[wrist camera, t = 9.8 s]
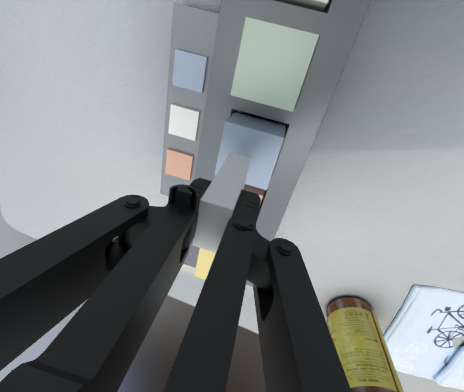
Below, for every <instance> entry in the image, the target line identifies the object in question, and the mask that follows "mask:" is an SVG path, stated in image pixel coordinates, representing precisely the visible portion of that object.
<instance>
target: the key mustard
mask: <svg viewBox="0 0 464 392" xmlns="http://www.w3.org/2000/svg"><path fill="white" fill-rule="evenodd" d="M215 254H216V253H215V252H212V251H208V250H205V249H202V248H200V249H199V254H198V259H197V264H196V269H195V274H194V276H196V277H199V278H202V279H205V280H206V278H207V275H208V273H209V270H210V267H211V265H212V262H213V259H214V257H215Z"/></svg>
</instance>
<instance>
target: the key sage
mask: <svg viewBox="0 0 464 392" xmlns="http://www.w3.org/2000/svg"><path fill="white" fill-rule="evenodd" d="M318 37H319V35H318V34H314V33H310V32H305V31H301V30H297V29H293V28H289V27H285V26H281V25H277V24H273V23H269V22H265V21H261V20H257V19H253V18H249V17H246V19H245V24H244V29H243V34H242V39H241V44H240V49H239V54H238V59H237V64H236V69H235V74H234V79H233V84H232V89H231V94H230V95H232V96H236V97H239V98H243V99H247V100H250V101H254V102H258V103H261V104H265V105H269V106H273V107H276V108H280V109H284V110H287V111H291V112H293V111H294V108H295V105H296V102H297V99H298V96H299V93H300V90H301V87H302V85H303V82H304V79H305V76H306V73H307V70H308V67H309V64H310V61H311V58H312V55H313V52H314V49H315V46H316V43H317V40H318Z"/></svg>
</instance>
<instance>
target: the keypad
mask: <svg viewBox="0 0 464 392" xmlns="http://www.w3.org/2000/svg"><path fill="white" fill-rule="evenodd" d="M370 1H371V0H329V3H328V6H327V9H326V12H325V13H324V12H320V11H316V10H312V9H307V8H303V7H299V6H295V5H291V4H286V3H282V2H278V1H274V0H221V3H220V10H219V14H218V13H214V12H210V11H206V10H202V9H198V8H194V7H190V6H186V5H182V4H178V3H174V11H173V25H172V39H171V53H170V67H169V81H168V94H167V108H166V122H165V136H164V150H163V164H162V178H161V191H160V193H161V194H164V195H167V196H169V190H170V187H172V186H174V185H178V184H184V185H189V186H190V184H191V183H192V181H193V180H195V179H198V178H203V179H206V180H209V181H213V179H214V178H215V176H216V175H214V174H215V169H216V164H217V159H218V154H219V149H220V144H221V139H222V134H223V129H224V124H225V121H226V120H227V119H228V118H229V117H230V116H231V115H233V114H234V113H235V112H236V111H237V110H239V111H243V112H246V113H250V114H254V115H257V116H261V117H264V118H268V119H272V120H275V121H279V122H283V123H286V124H288V125H287V128H286V131H285V136H284V141H283V143H282V146H281V149H280V152H279V155H278V158H277V161H276V164H275V167H274V170H273V173H272V176H271V179H270V182H269V185H268V188H267V190H265V193H264V196H263V199H262V202H261V205H260V208H259V212H258V217H257V222H256V229H257V231H258V233H259V234H260V235H261V236H262V237H264V238H265V239H267V240H269V241H272V240H273V239H274V237H275V235H276V232H277V230H278V227H279V225H280V222H281V220H282V218H283V215H284V213H285V210H286V208H287V205H288V203H289V200H290V198H291V195H292V193H293V191H294V188H295V186H296V183H297V181H298V178H299V176H300V173H301V171H302V168H303V166H304V164H305V161H306V159H307V156H308V154H309V151H310V149H311V146H312V144H313V141H314V139H315V137H316V134H317V132H318V129H319V127H320V124H321V122H322V119H323V117H324V114H325V112H326V110H327V107H328V105H329V102H330V100H331V97H332V95H333V92H334V90H335V87H336V85H337V82H338V80H339V78H340V75H341V73H342V70H343V68H344V65H345V63H346V60H347V58H348V55H349V53H350V51H351V48H352V46H353V43H354V41H355V38H356V36H357V33H358V31H359V28H360V26H361V24H362V21H363V19H364V16H365V14H366V11H367V9H368V6H369V4H370ZM246 17H249V18H253V19H257V20H261V21H265V22H269V23H273V24H277V25H281V26H285V27H289V28H293V29H297V30H301V31H305V32H310V33H314V34H318V35H319V37H318V40H317V43H316V46H315V49H314V52H313V55H312V58H311V61H310V64H309V67H308V70H307V73H306V76H305V79H304V82H303V85H302V87H301V90H300V93H299V96H298V99H297V102H296V105H295V108H294V111H293V112H291V111H287V110H284V109H280V108H276V107H273V106H269V105H265V104H261V103H258V102H254V101H250V100H247V99H243V98H239V97H236V96H232V95H230V94H231V89H232V84H233V79H234V74H235V69H236V64H237V59H238V54H239V49H240V44H241V39H242V34H243V29H244V24H245V19H246ZM192 244H193V240H192V242H191V244H190V249H189V253H188V255H187V257H186V259H185V261H184V263H183V264H186V265H189V266H192V267H195V268H196V264H197V259H198V254H199V249H200V248H199V247H196V246H192ZM246 284H247V285H250V286H253V285H254V284H253V283H251V282H249V281H248V280H247V281H246Z"/></svg>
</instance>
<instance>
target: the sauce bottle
mask: <svg viewBox="0 0 464 392" xmlns="http://www.w3.org/2000/svg"><path fill="white" fill-rule="evenodd" d="M327 326H328V329H329V332H330V334H331V337H332V340H333V342H334V345H335V348H336V350H337V353H338V356H339V358H340V361H341V364H342V367H343V369H344V372H345V375H346V377H347V380H348V383H349V385H350V388H351V391H352V392H403V389H402V386H401V383H400V380H399V378H398V375H397V372H396V369H395V367H394V364H393V361H392V358H391V356H390V353H389V350H388V347H387V345H386V342H385V339H384V336H383V334H382V331H381V328H380V325H379V323H378V320H377V317H376V316H375V314H374V312H373V310H372V308H371V307H370V305H368V303H366V302H365V301H363V300H361V299H357V298H353V297H346V298H339V299H336V300H335V301H333V302H332V303H330V304H329V305H328V307H327Z"/></svg>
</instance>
